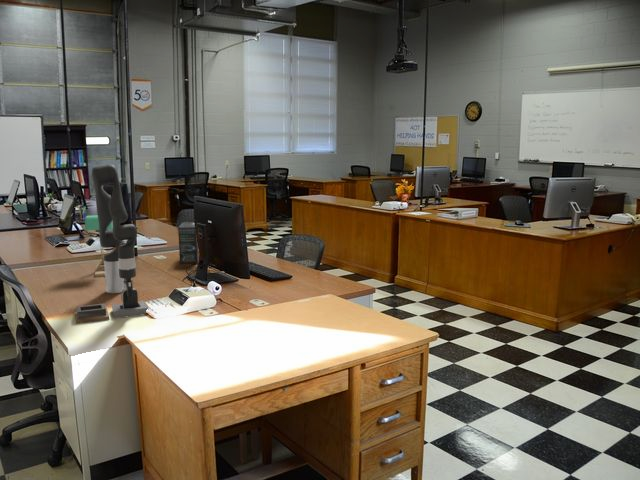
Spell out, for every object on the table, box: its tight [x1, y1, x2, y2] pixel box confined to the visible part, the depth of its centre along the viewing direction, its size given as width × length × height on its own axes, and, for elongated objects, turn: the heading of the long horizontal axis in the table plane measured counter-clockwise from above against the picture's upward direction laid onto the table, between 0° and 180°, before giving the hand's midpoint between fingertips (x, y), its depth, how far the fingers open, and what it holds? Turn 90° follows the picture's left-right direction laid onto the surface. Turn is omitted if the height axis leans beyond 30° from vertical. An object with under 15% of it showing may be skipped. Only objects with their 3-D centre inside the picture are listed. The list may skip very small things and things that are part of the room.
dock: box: [111, 300, 149, 319], centre depth 267 cm, size 12×15×3 cm
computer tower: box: [177, 221, 199, 264], centre depth 375 cm, size 22×12×26 cm, turn 6°
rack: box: [74, 303, 110, 325], centre depth 260 cm, size 14×14×4 cm
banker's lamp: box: [84, 214, 113, 278], centre depth 339 cm, size 16×21×35 cm
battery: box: [121, 288, 139, 309], centre depth 266 cm, size 7×4×11 cm, turn 124°
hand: (129, 300), depth 266 cm, fingers open, 8 cm apart
